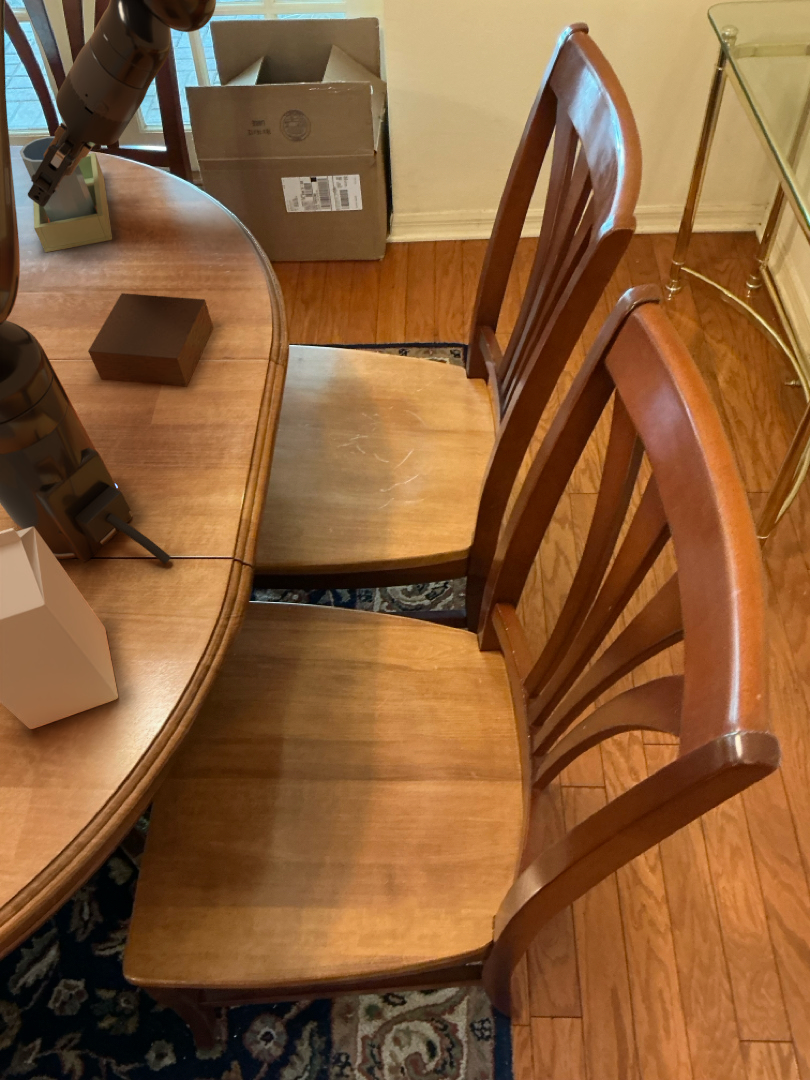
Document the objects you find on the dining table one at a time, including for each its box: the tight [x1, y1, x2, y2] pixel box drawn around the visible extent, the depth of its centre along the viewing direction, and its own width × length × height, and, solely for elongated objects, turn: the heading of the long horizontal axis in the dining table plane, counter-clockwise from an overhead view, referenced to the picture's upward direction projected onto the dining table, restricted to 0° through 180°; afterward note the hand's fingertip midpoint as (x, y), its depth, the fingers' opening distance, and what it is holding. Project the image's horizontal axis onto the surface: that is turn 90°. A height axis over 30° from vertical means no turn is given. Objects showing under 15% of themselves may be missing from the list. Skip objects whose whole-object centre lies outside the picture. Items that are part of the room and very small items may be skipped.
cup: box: [19, 135, 97, 222], centre depth 98 cm, size 6×6×10 cm
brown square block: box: [87, 292, 214, 387], centre depth 86 cm, size 10×10×4 cm
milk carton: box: [0, 527, 119, 730], centre depth 56 cm, size 7×7×19 cm
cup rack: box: [32, 152, 113, 253], centre depth 104 cm, size 9×16×4 cm, turn 17°
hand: (50, 182), depth 98 cm, fingers open, 8 cm apart
